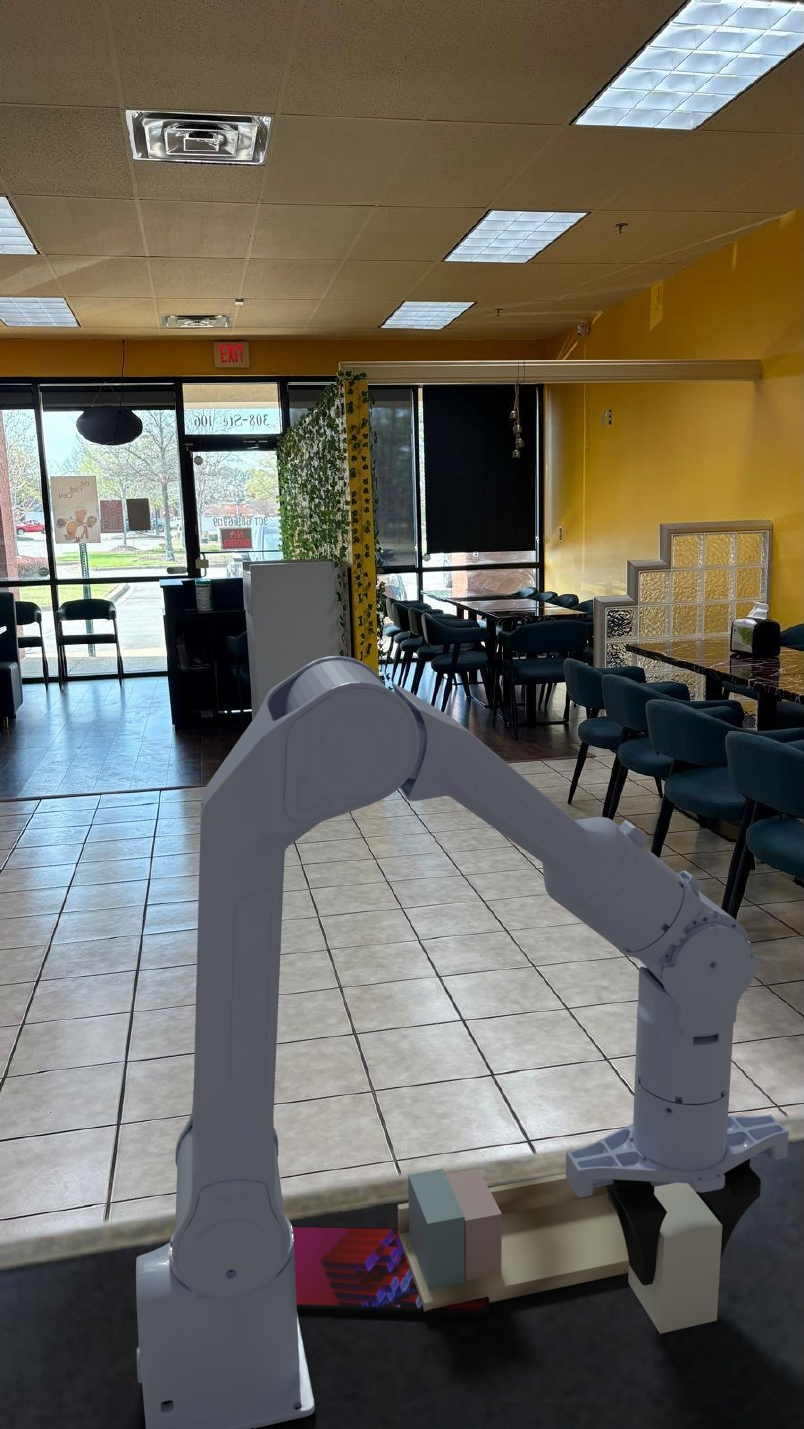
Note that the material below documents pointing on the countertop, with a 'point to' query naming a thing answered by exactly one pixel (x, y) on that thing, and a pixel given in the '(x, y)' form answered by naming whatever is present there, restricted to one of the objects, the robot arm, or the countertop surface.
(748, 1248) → the countertop surface
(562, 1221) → the shelf board
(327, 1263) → the smartphone
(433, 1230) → the shelved books
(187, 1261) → the robot arm
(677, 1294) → the book
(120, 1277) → the countertop surface
